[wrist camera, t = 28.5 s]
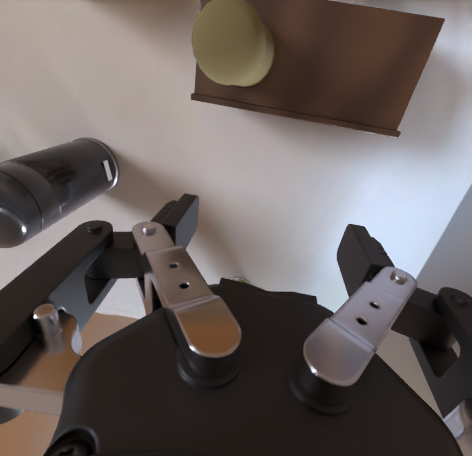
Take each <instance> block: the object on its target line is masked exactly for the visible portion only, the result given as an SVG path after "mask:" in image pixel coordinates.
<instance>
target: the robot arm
mask: <svg viewBox="0 0 472 456" xmlns="http://www.w3.org/2000/svg"><path fill="white" fill-rule="evenodd" d="M118 178H119V167H118V164H117V161H116V159H115V157H114V155H113V154H112V152H111V151H110V150H109V149H108V148H107V147H106V146H105V145H104V144H102V143H101V142H99V141H97V140H95V139H91V138H80V139H76V140H74V141H72V142H69V143H65V144H61V145H58V146H55V147H51V148H48V149H45V150H41V151H38V152H34V153H31V154H28V155H24V156H21V157H18V158H14V159H11V160H7V161H4V162H1V163H0V248H12V247H15V246H18V245H21V244H23V243H24V242H26V241H28V240H29V239H31V238H32V237H34V236H36V235H37V234H39V233H40V232H42V231H43V230H45V229H47V228H48V227H50V226H51V225H53V224H54V223H56V222H58V221H59V220H61V219H62V218H64V217H66V216H67V215H69V214H70V213H72V212H73V211H75V210H77V209H78V208H80V207H81V206H83V205H85V204H86V203H88V202H89V201H91V200H93V199H94V198H96V197H97V196H99V195H101V194H102V193H104V192H106V191H108V190H110V189H111V188H113V187H114V186H115V185H116V183H117V181H118ZM198 204H199V197H198V196H196V195H190V194H184V195H183V196H182V197H181V198H180V199H179V201H175V200H173V201H171V202H169V203H166V204H165V206H164V207H163V208H162V209H161V210H160V211H159V212H158V213H157V214H156V216H155V217H154V218H153V219H152V220H151V221H150V222H142V223H138V224H136V225H135V226H134V227H133V228H132V231H131V232H113V227H112V225H111V224H110V223H109V222H106V221H99V220H96V221H89V222H85V223H83V224H81V225H79V226H78V227H77V228H75V229H74V230H73V231H72V232H71V233H69V234H68V235H67V236H66V237H64V238H63V239H62V240H61V241H60V242H58V243H57V244H56V245H55V246H54V247H52V248H51V249H50V250H49V251H48V252H46V253H45V254H44V255H43V256H41V257H40V258H39V259H38V260H37V261H35V262H34V263H33V264H32V265H31V266H29V267H28V268H27V269H26V270H24V271H23V272H22V273H21V274H20V275H18V276H17V277H16V278H15V279H14V280H12V281H11V282H10V283H9V284H8V285H6V286H5V287H4V288H3V289H1V290H0V424H3V423H6V422H8V421H10V420H12V419H14V418H15V417H17V416H18V415H20V413H22V412H23V411H24V410H25V411H32V412H39V413H44V414H51V415H57V416H60V418H59V422H58V425H57V428H56V431H55V433H54V435H53V438H52V441H51V443H50V445H49V447H48V448H47V450H46V452H45V453H44V455H43V456H472V297H470V296H469V295H467V294H466V293H464V292H462V291H459V290H457V289H453V288H448V287H443V288H441V289H440V290H439V292H438V293H437V295H436V294H433V293H430V292H428V291H425V290H422V289H420V288H417V281H416V280H415V279H414V278H413V277H412V276H411V275H410V274H408V273H407V272H405V271H403V270H401V269H398V268H395V266H394V264H393V263H392V261H391V260H390V258H389V256H387V253H386V252H385V251H384V248H383V247H382V245H381V243H379V242H378V241H377V240H376V239H375V238H373V237H371V236H370V235H369V233H368V231H367V230H366V228H365V227H364V226H359V225H354V224H348V226H347V227H346V230H345V232H344V235H343V237H342V240H341V242H340V245H339V247H338V251H337V262H338V265H339V268H340V271H341V274H342V277H343V280H344V283H345V286H346V290H347V293H348V296H349V299H348V300H347V301H346V302H345V303H344V304H343V305H342V306H341V307H340V308H339V309H338V310H337V311H336V312H335V313H333V312H332V311H330V310H329V309H327V308H325V307H323V306H321V305H319V304H317V299H316V296H311V295H306V294H301V293H296V292H270V291H265V290H263V289H260V288H258V287H255V286H253V285H250V284H247V283H245V282H240V281H235V280H230V279H225V278H221V280H220V283H219V284H213V285H208V284H207V283H206V281H205V280H204V278H203V276H202V275H201V273H200V272H199V270H198V269H197V267H196V265H195V264H194V262H193V261H192V259H191V257H190V256H189V254H188V253H187V251H186V247H187V246H188V244H189V242H190V240H191V238H192V237H193V235H194V233H195V230H196V227H197V219H198ZM118 278H135V279H136V283H137V286H138V289H139V292H140V295H141V298H142V301H143V304H144V307H145V311H146V316H145V317H143V318H141V319H139V320H137V321H136V322H134V323H132V324H130V325H128V326H127V327H125V328H123V329H121V330H119V331H117V332H116V333H114V334H112V335H110V336H108V337H106V338H105V339H103V340H101V341H100V342H98V343H97V344H95V345H94V346H93V347H91V348H90V349H89V350H88V351H87V352H86V353H85V354H83V356H80V353H81V350H82V341H81V337H80V332H81V331H82V329H83V328H84V326H85V325H86V323H87V322H88V321H89V319H90V318H91V316H92V315H93V314H94V312H95V311H96V309H97V308H98V306H99V305H100V304H101V302H102V301H103V299H104V298H105V296H106V295H107V294H108V292H109V291H110V289H111V288H112V286H113V285H114V284H115V282H116V281H117V279H118ZM390 329H391V330H393V331H396V332H398V333H400V334H403V335H405V336H407V337H409V341H410V343H411V345H412V348H413V350H414V352H415V354H416V357H417V359H418V362H419V364H420V366H421V369H422V371H423V373H424V375H425V378H426V380H427V382H428V385H429V387H430V389H431V392H432V394H433V396H434V399H435V401H436V403H437V405H438V408H439V410H440V412H441V415H442V417H443V420H442V419H441V418H440V417H439V416H438V414H437V413H436V412H435V411H434V410H433V409H432V408H431V407H430V406H429V405H428V404H427V403H426V402H425V401H424V400H423V399H422V398H421V397H420V396H419V395H418V394H417V393H415V391H414V390H413V389H412V388H411V387H409V386H408V384H406V383H405V382H404V380H403V379H402V378H400V377H399V376H398V375H397V374H396V373H395V372H394V371H393V370H392V369H391V368H390V367H389V366H388V365H387V364H386V363H385V362H384V361H383V360H382V359H381V358H380V357H379V356H378V355H377V354H376V353H375V352H376V351H377V349H378V348H379V346H380V344H381V343H382V341H383V340H384V338H385V337H386V335H387V333H388V332H389V330H390ZM456 341H458V343H459V345H460V356H459V358H458V357H457V355H456V353H455V352H454V350H453V348H452V346H453V344H454V343H455V342H456Z"/></svg>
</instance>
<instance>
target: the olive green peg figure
mask: <svg viewBox="0 0 472 456" xmlns="http://www.w3.org/2000/svg"><path fill="white" fill-rule="evenodd" d="M192 46H193V52H194V56H195V58H196V60H197V63H198V65H199V67H200V69H201V70H202V71H203V72H204V73H205V75H206V76H207V77H208V78H210V79H211V80H213V81H215V82H216V83H219V84H223V85H234V86H238V87H242V88H247V87H253V86H255V85H257V84H259V83H261V82H262V81H263V80H264V79H265V78H266V77H267V76H268V75H269V73H270V71H271V69H272V67H273V64H274V60H275V56H276V53H275V42H274V39H273V36H272V33H271V32H270V30H269V29H268V27H267V26H266V25H265V24H264V23H263V22H262V21H261V18H260V16H259V14H258V13H257V11H256V10H255V9H254V7H253V6H252V5H251V4H250V3H248V2H247V1H245V0H212V1H211V2H209V3H207V4H206V5H205V6H204V8H203V9H202V10H201V12H200V13H199V14H198V16H197V19H196V21H195V24H194V27H193V34H192Z"/></svg>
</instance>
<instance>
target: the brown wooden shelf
mask: <svg viewBox="0 0 472 456" xmlns="http://www.w3.org/2000/svg"><path fill="white" fill-rule="evenodd" d="M211 1H212V0H201V1H200V12H201V10H202V9H203V8H204V6H205V5H206V4H207V3H209V2H211ZM245 1H247V2H248V3H250V4H251V5H252V6H253V7H254V9H255V10H256V11H257V13H258V14H259V16H260V18H261V21H262V22H263V23H264V24H265V25H266V26H267V27H268V29H269V30H270V32H271V33H272V36H273V39H274V42H275V53H276V56H275V60H274V64H273V67H272V69H271V71H270V73H269V75H268V76H267V77H266V78H265V79H264V80H263V81H262V82H261V83H259V84H257V85H255V86H253V87H247V88H242V87H238V86H234V85H223V84H219V83H216V82H215V81H213V80H211V79H210V78H208V77H207V76H206V75H205V73H204V72H203V71H202V70H201V69H200V67H199V65H198V63H197V62H196V77H195V93H192V94H191V100H196V101H201V102H207V103H212V104H217V105H223V106H228V107H234V108H239V109H244V110H250V111H255V112H261V113H266V114H271V115H277V116H282V117H288V118H293V119H298V120H304V121H309V122H315V123H320V124H325V125H331V126H336V127H342V128H347V129H352V130H358V131H363V132H369V133H374V134H379V135H385V136H390V137H396V138H398V137H399V135H400V133H401V132H400V131H397V128H398V126H399V124H400V122H401V119H402V117H403V115H404V112H405V110H406V108H407V106H408V103H409V101H410V99H411V96H412V94H413V92H414V89H415V87H416V85H417V83H418V80H419V78H420V76H421V73H422V71H423V69H424V67H425V64H426V62H427V60H428V57H429V55H430V53H431V51H432V48H433V46H434V44H435V41H436V39H437V37H438V34H439V32H440V30H441V28H442V25H443V23H444V21H445V19H444V18H437V17H431V16H424V15H418V14H412V13H405V12H399V11H392V10H386V9H380V8H373V7H367V6H360V5H354V4H348V3H341V2H335V1H328V0H245Z"/></svg>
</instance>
